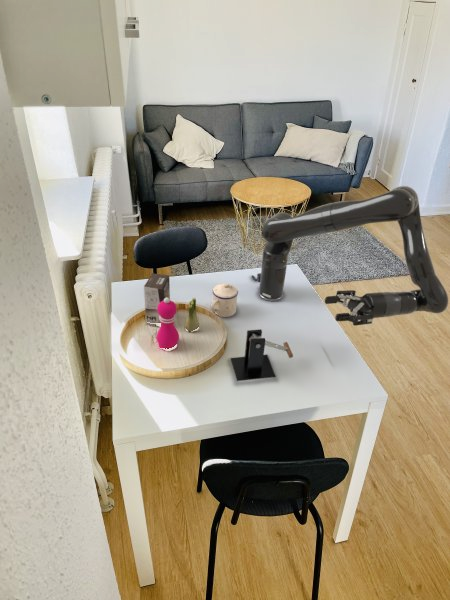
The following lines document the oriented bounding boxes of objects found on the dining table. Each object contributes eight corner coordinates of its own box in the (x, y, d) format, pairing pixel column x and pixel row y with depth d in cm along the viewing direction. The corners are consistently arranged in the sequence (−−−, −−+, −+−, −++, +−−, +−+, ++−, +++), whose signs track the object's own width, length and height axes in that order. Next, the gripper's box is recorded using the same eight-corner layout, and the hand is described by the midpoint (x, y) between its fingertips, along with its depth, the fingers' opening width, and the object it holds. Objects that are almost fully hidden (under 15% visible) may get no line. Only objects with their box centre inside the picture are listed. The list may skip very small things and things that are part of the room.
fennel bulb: (192, 323, 160) (193, 295, 153) (203, 329, 158) (203, 301, 151) (181, 331, 156) (181, 302, 149) (191, 337, 154) (192, 308, 147)
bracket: (266, 357, 147) (271, 323, 139) (275, 379, 139) (280, 344, 131) (230, 361, 145) (232, 326, 137) (236, 383, 137) (240, 348, 129)
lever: (285, 347, 143) (289, 341, 142) (290, 359, 139) (295, 353, 138) (247, 335, 137) (251, 329, 136) (252, 347, 133) (256, 341, 132)
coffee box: (163, 328, 157) (161, 289, 148) (145, 325, 158) (142, 286, 149) (171, 312, 165) (170, 274, 155) (154, 309, 165) (152, 272, 156)
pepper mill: (182, 344, 151) (182, 294, 139) (173, 357, 145) (172, 307, 134) (163, 338, 153) (161, 289, 141) (153, 351, 147) (150, 301, 135)
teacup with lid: (222, 300, 172) (223, 274, 166) (241, 310, 168) (243, 283, 161) (201, 314, 165) (202, 287, 158) (220, 325, 160) (222, 298, 153)
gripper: (373, 281, 140) (324, 284, 137) (396, 308, 129) (342, 313, 126) (368, 301, 144) (319, 305, 141) (389, 329, 133) (337, 334, 130)
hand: (330, 308), depth 134 cm, fingers open, 8 cm apart
